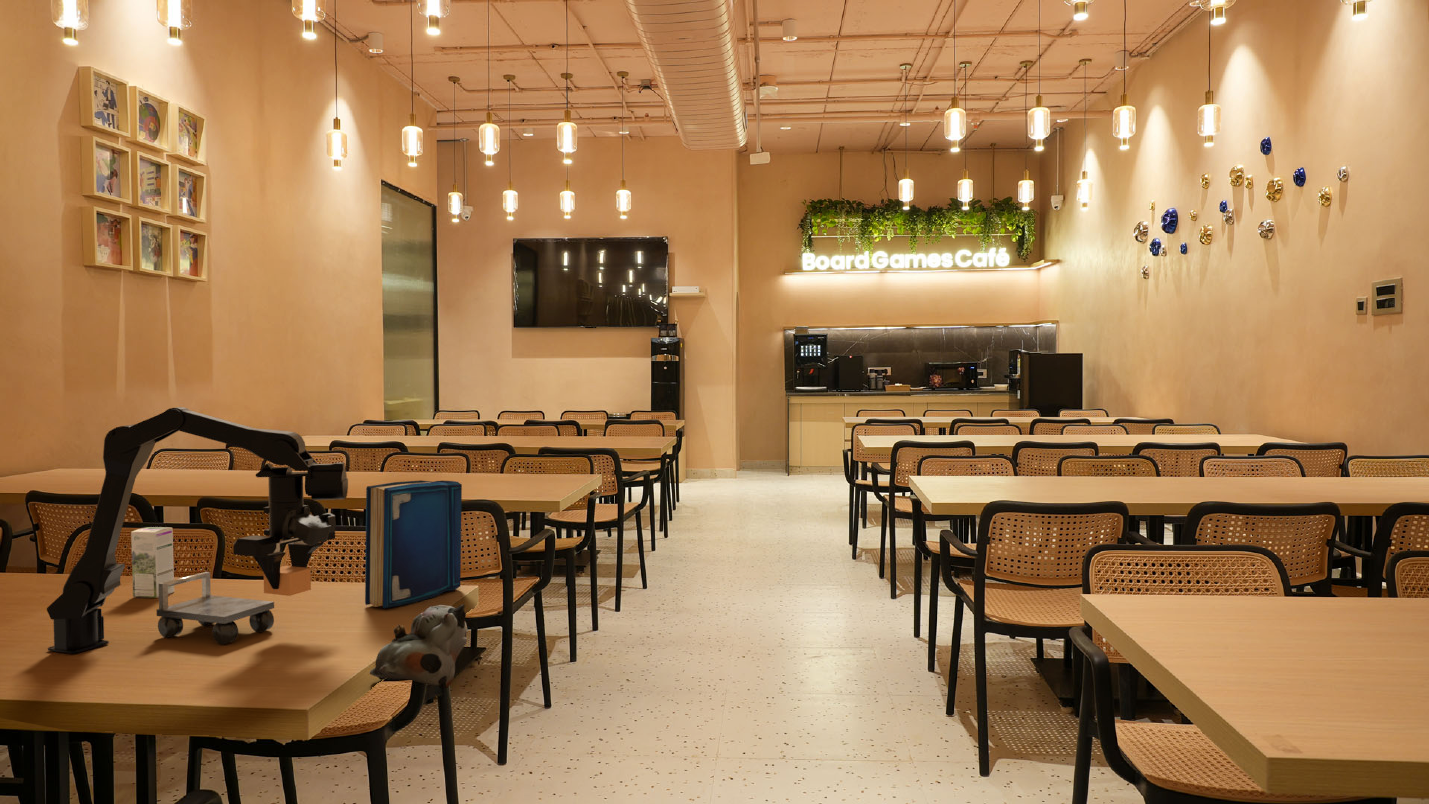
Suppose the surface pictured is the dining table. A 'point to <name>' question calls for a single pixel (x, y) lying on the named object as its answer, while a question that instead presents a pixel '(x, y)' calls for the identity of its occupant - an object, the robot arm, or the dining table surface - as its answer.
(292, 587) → the orange rectangular carton
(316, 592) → the dining table surface
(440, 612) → the cat figurine
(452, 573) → the book
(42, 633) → the dining table surface
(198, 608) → the platform trolley
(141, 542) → the syrup box
